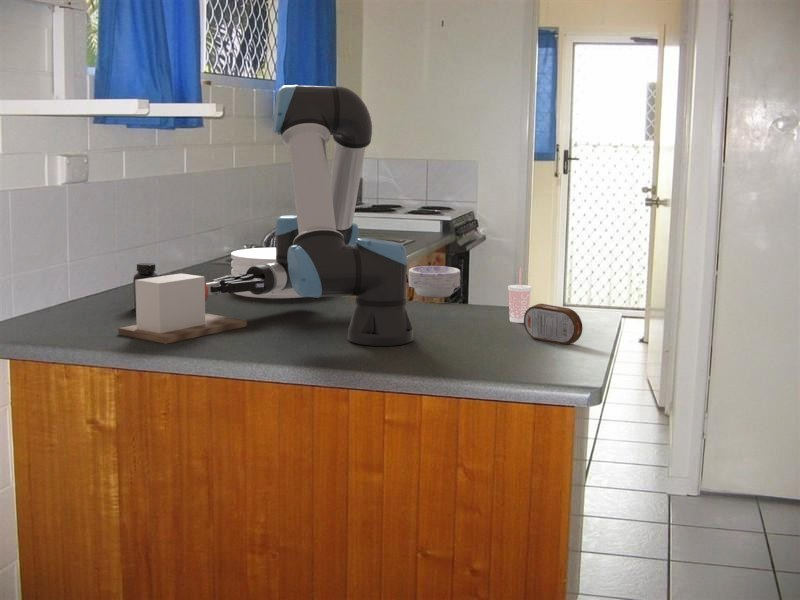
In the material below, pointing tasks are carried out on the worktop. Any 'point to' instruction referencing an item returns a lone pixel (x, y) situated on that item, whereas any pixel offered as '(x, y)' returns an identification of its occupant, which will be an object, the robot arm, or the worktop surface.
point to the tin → (553, 324)
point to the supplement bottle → (143, 276)
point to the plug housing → (170, 302)
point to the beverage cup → (518, 301)
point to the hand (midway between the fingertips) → (198, 290)
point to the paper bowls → (434, 280)
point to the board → (186, 330)
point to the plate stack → (254, 258)
